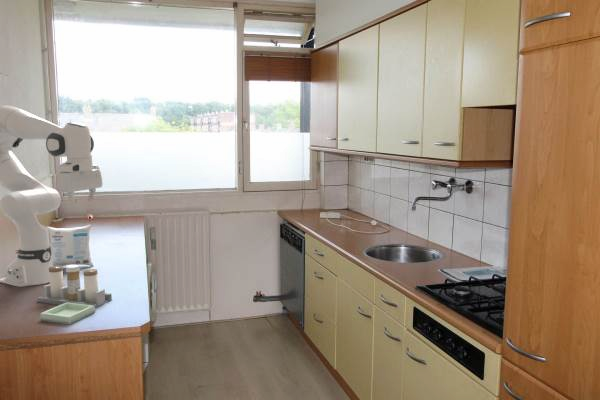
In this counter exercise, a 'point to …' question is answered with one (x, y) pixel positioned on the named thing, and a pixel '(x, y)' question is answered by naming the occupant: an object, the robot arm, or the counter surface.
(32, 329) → the counter surface
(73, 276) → the sprinkles bottle
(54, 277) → the left jar
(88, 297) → the right jar
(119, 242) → the counter surface
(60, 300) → the spice rack
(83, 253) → the pouch
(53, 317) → the tray
